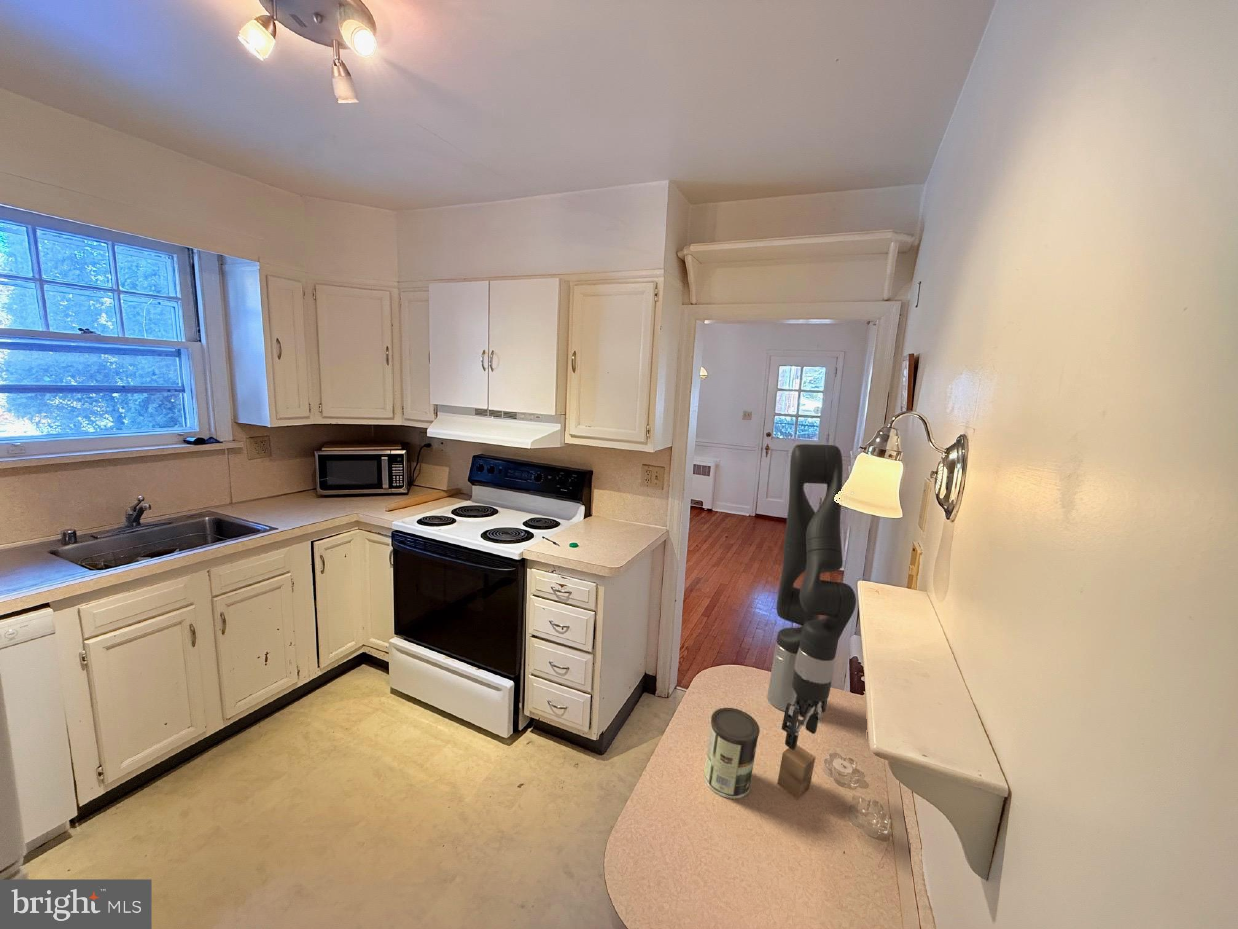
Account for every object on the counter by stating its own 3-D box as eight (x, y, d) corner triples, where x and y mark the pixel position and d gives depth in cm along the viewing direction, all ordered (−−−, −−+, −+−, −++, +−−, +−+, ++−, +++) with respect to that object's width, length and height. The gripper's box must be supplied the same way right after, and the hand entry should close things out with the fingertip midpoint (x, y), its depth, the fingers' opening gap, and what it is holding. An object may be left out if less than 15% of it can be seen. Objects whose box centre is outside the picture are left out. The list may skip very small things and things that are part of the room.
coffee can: (744, 763, 113) (752, 709, 110) (755, 801, 103) (765, 743, 100) (699, 759, 113) (707, 704, 110) (706, 796, 103) (715, 738, 100)
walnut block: (788, 773, 111) (794, 742, 110) (809, 788, 107) (815, 757, 106) (777, 784, 108) (782, 752, 106) (797, 799, 104) (804, 767, 103)
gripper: (813, 652, 110) (801, 717, 113) (779, 672, 101) (767, 741, 103) (846, 669, 104) (832, 736, 107) (813, 692, 95) (799, 764, 98)
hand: (800, 739), depth 105 cm, fingers open, 8 cm apart
